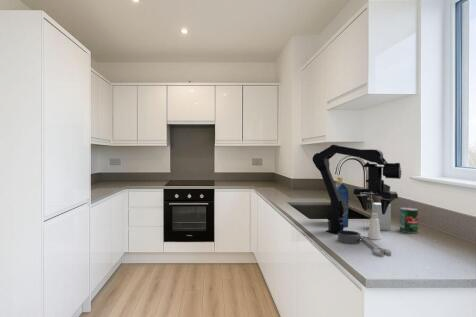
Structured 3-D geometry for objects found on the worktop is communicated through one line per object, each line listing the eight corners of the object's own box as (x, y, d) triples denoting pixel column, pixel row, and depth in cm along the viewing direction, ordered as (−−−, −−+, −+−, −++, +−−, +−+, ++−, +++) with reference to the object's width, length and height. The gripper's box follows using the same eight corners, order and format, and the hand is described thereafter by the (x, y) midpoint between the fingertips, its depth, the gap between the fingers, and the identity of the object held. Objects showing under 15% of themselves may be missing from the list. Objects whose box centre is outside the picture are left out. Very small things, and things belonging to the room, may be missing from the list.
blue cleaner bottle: (336, 226, 160) (336, 178, 160) (331, 221, 172) (331, 176, 172) (348, 227, 160) (348, 178, 159) (342, 222, 172) (342, 176, 171)
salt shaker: (369, 235, 142) (370, 211, 142) (382, 237, 139) (382, 213, 139) (366, 238, 138) (366, 213, 138) (379, 240, 135) (379, 215, 135)
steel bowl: (333, 240, 135) (334, 232, 135) (347, 237, 139) (347, 229, 139) (350, 245, 127) (350, 236, 127) (364, 242, 132) (364, 233, 132)
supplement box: (391, 230, 152) (391, 204, 152) (375, 229, 154) (375, 204, 154) (387, 227, 160) (387, 202, 160) (371, 226, 161) (371, 202, 161)
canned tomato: (405, 228, 157) (405, 206, 157) (421, 231, 150) (421, 209, 150) (396, 230, 153) (396, 208, 153) (412, 233, 146) (412, 210, 146)
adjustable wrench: (358, 239, 138) (358, 235, 138) (373, 240, 137) (373, 236, 137) (375, 257, 113) (375, 252, 113) (394, 258, 112) (394, 253, 112)
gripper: (405, 178, 134) (405, 214, 135) (368, 175, 150) (368, 208, 151) (389, 179, 129) (389, 217, 129) (352, 176, 145) (352, 209, 145)
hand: (374, 212), depth 139 cm, fingers open, 9 cm apart
